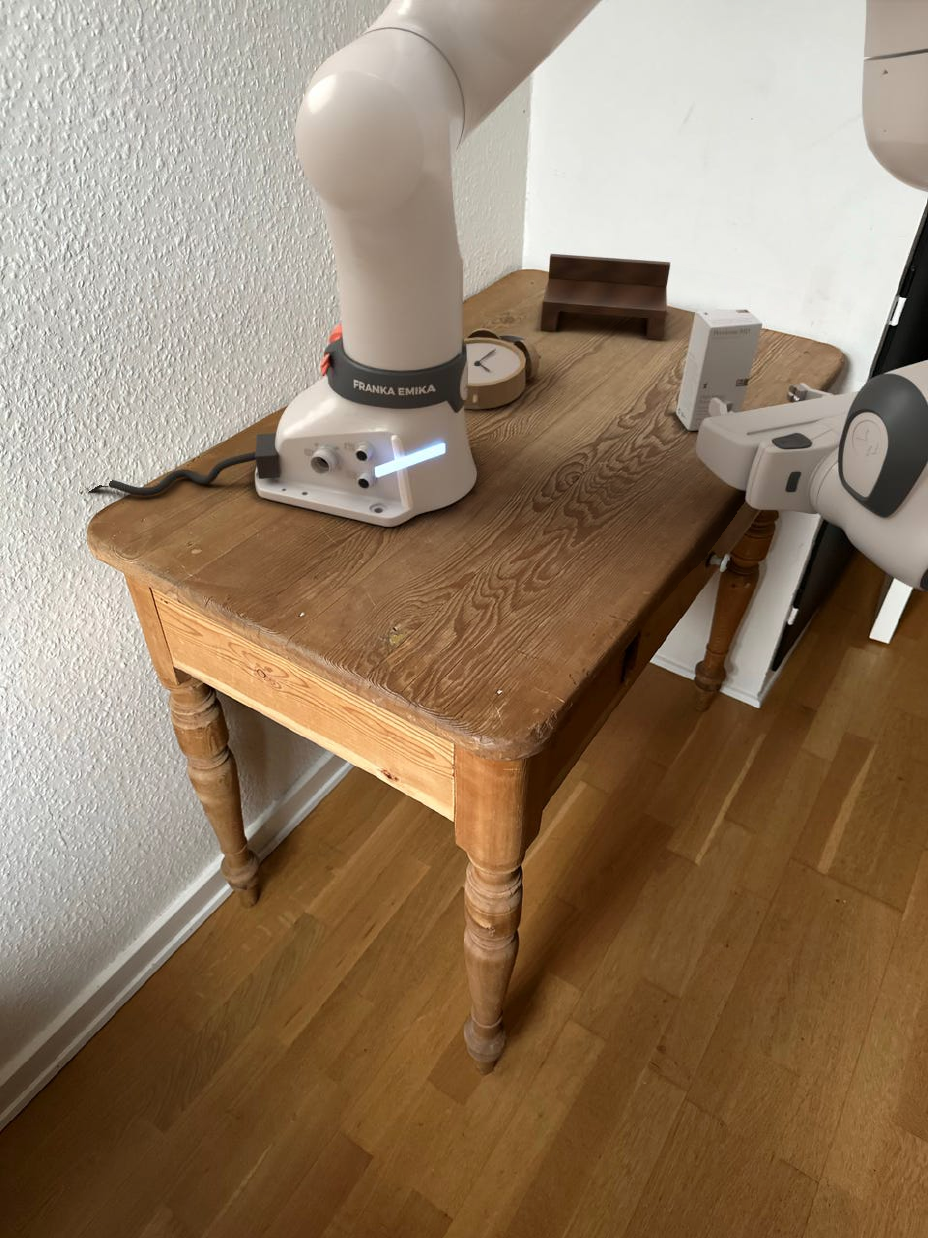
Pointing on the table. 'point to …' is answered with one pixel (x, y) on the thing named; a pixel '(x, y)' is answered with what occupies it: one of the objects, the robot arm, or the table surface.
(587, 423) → the table surface
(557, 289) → the brown wooden bench
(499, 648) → the table surface
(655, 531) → the table surface
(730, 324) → the cosmetic box
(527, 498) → the table surface
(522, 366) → the alarm clock
